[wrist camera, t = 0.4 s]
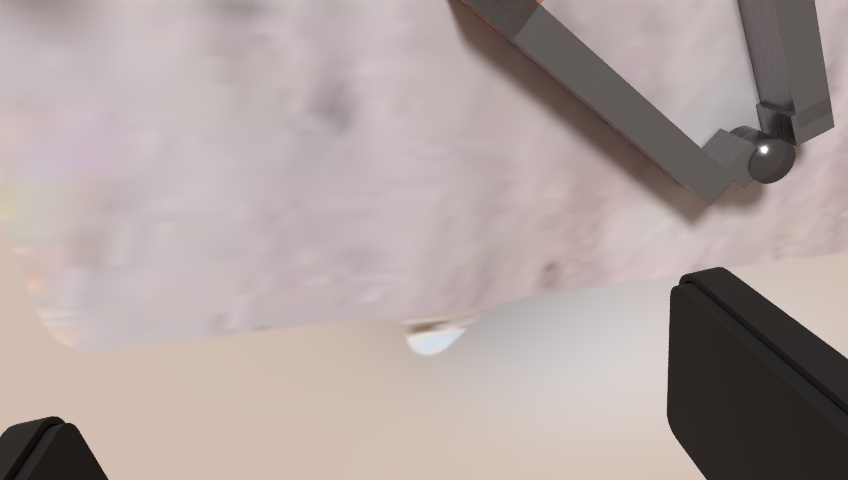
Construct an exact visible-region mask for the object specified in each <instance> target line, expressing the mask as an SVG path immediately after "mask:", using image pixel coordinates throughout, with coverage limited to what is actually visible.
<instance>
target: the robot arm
mask: <svg viewBox="0 0 848 480" xmlns="http://www.w3.org/2000/svg"><path fill="white" fill-rule="evenodd" d="M669 324H670V325H669V358H668V360H669V361H668V392H667V418H668V422H669V425H670V428H671V430H672V432H673V434H674V435H675V437H676V439H677V440H678V441H679V443H680V444H681V445H682V447H683V448H684V450H685V451H686V452H687V454H688V455H689V456H690V458H691V459H692V460H693V462H694V463H695V464H696V466H697V467H698V469H699V470H700V471H701V473H702V474H703V475H704V477H705V478H706V479H707V480H848V359H847V358H846V357H844V356H843V355H842V354H840V353H839V352H838V351H836V350H835V349H834V348H832V347H831V346H830V345H828V344H827V343H825V342H824V341H823V340H821V339H820V338H819V337H817V336H816V335H815V334H813V333H812V332H810V331H809V330H808V329H807V328H805V327H804V326H802V325H801V324H800V323H798V322H797V321H796V320H794V319H793V318H792V317H790V316H789V315H788V314H786V313H785V312H784V311H782V310H781V309H780V308H778V307H777V306H776V305H774V304H773V303H771V302H770V301H769V300H767V299H766V298H765V297H763V296H762V295H761V294H759V293H758V292H757V291H755V290H754V289H753V288H751V287H750V286H749V285H747V284H746V283H744V282H743V281H742V280H740V279H739V278H738V277H736V276H735V275H734V274H732V273H731V272H730V271H728V270H727V269H725V268H723V267H716V268H711V269H707V270H702V271H698V272H693V273H689V274H685V275H683V276H682V277H681V279H680V281H679V285H678V286H675V287H673V288H672V290H671V295H670V323H669ZM0 480H108V478H107V476H106V475H105V473H104V472H103V470H102V468H101V467H100V465H99V463H98V462H97V460H96V458H95V457H94V455H93V453H92V452H91V450H90V448H89V447H88V445H87V443H86V442H85V440H84V438H83V437H82V435H81V433H80V432H79V430H78V429H77V427H76V426H75V425H73V424H71V423H65V422H64V421H63V420H62V419H61V418H59V417H53V416H52V417H47V418H42V419H38V420H34V421H29V422H25V423H20V424H16V425H13V426H11V427H9V428H8V429H7V430H6V431H5V432H4V433H3V434H2V435H1V437H0Z"/></svg>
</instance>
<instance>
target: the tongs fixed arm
mask: <svg viewBox="0 0 848 480" xmlns="http://www.w3.org/2000/svg"><path fill="white" fill-rule="evenodd" d="M738 2H739V7H740V11H741V16H742V20H743V25H744V29H745V34H746V38H747V42H748V47H749V51H750V56H751V60H752V65H753V69H754V74H755V78H756V83H757V87H758V92H759V96H760V101H761V103H759V104H757V105H756V106H757V110H758V114H759V119H760V123H761V128H762V132H764V133H766V134H769V135H771V136H774V137H776V138H778V139H781V140H783V141H786V142H788V143H790V144H792V145H795V146H798V145H800V144H802V143H804V142H806V141H808V140H810V139H812V138H814V137H816V136H818V135H820V134H822V133H824V132H826V131H828V130H830V129H832V128H833V127H834V121H833V114H832V108H831V102H830V95H829V89H828V83H827V77H826V70H825V64H824V58H823V51H822V45H821V39H820V32H819V26H818V20H817V14H816V7H815V1H814V0H738Z"/></svg>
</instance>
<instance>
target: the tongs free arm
mask: <svg viewBox="0 0 848 480" xmlns="http://www.w3.org/2000/svg"><path fill="white" fill-rule="evenodd" d="M461 1H462V2H463V3H464V4H465V5H467V6H468V7H469V8H470V9H471V10H473V11H474V12H475V13H476V14H477V15H479V16H480V17H481V18H482V19H483V20H485V21H486V22H487V23H488V24H489V25H490V26H492V27H493V28H494V29H495V30H496V31H498V32H499V33H500V34H501V35H502V36H504V37H505V38H506V39H507V40H508V41H510V42H511V43H512V44H513V45H514V46H516V47H517V48H518V49H519V50H520V51H521V52H523V53H524V54H525V55H526V56H527V57H529V58H530V59H531V60H532V61H533V62H535V63H536V64H537V65H538V66H539V67H541V68H542V69H543V70H544V71H545V72H547V73H548V74H549V75H550V76H551V77H552V78H554V79H555V80H556V81H557V82H558V83H560V84H561V85H562V86H563V87H564V88H566V89H567V90H568V91H569V92H570V93H572V94H573V95H574V96H575V97H576V98H577V99H579V100H580V101H581V102H582V103H583V104H585V105H586V106H587V107H588V108H589V109H591V110H592V111H593V112H594V113H595V114H597V115H598V116H599V117H600V118H601V119H603V120H604V121H605V122H606V123H607V124H608V125H610V126H611V127H612V128H613V129H614V130H616V131H617V132H618V133H619V134H620V135H622V136H623V137H624V138H625V139H626V140H628V141H629V142H630V143H631V144H632V145H634V146H635V147H636V148H637V149H638V150H639V151H641V152H642V153H643V154H644V155H645V156H647V157H648V158H649V159H650V160H651V161H653V162H654V163H655V164H656V165H657V166H659V167H660V168H661V169H662V170H663V171H664V172H666V173H667V174H668V175H669V176H670V177H672V178H673V179H674V180H675V181H676V182H678V183H679V184H680V185H681V186H682V187H684V188H685V189H687V190H688V191H690V192H691V193H693V194H694V195H696V196H697V197H699V198H700V199H702V200H703V201H705V202H706V203H708V204H709V205H711V204H712V203H713V202H714V200H715V199H716V198H717V197H718V196H719V195H720V194H721V193H722V192H723V191H724V190H725V189H726V188H727V187H728V186H729V185H730V184H731V183H732V182H733V181H734V182H735V183H737V184H739V185H741V186H743V187H744V188H746V187H747V186H748V185H749V184H750V183H751V182H752V181H753V180H754V179H755V180H757V181H758V182H760V183H764V184H769V183H774V182H776V181H778V180H780V179H782V178H783V177H784V176H785V175H786V174H787V173H788V172H789V171H790V170H791V168H792V166H793V164H794V161H795V150H794V148H793V146H792V145H791V144H790V143H788V142H786V141H783V140H781V139H778V138H776V137H774V136H771V135H769V134H766V133H764V132H761V131H759V130H757V129H754V128H752V127H748V126H742V127H738V128H736V129H734V130H732V131H731V132H730V133H729V132H727V131H724V130H722V129H719V131H718V132H717V133H716V134H715V135H714V136H713V137H712V138H711V139H710V140H709V141H708V142H707V143H706V144H705V146H704V147H703V148H702V149H701V148H700V147H699V146H698V145H697V144H695V143H694V142H693V141H692V140H691V139H690V138H689V137H688V136H687V135H685V134H684V133H683V132H682V131H681V130H680V129H679V128H678V127H676V126H675V125H674V124H673V123H672V122H671V121H670V120H669V119H668V118H666V117H665V116H664V115H663V114H662V113H661V112H660V111H659V110H658V109H656V108H655V107H654V106H653V105H652V104H651V103H650V102H649V101H647V100H646V99H645V98H644V97H643V96H642V95H641V94H640V93H639V92H637V91H636V90H635V89H634V88H633V87H632V86H631V85H630V84H628V83H627V82H626V81H625V80H624V79H623V78H622V77H621V76H620V75H618V74H617V73H616V72H615V71H614V70H613V69H612V68H611V67H609V66H608V65H607V64H606V63H605V62H604V61H603V60H602V59H601V58H599V57H598V56H597V55H596V54H595V53H594V52H593V51H592V50H590V49H589V48H588V47H587V46H586V45H585V44H584V43H583V42H582V41H580V40H579V39H578V38H577V37H576V36H575V35H574V34H573V33H572V32H570V31H569V30H568V29H567V28H566V27H565V26H564V25H563V24H561V23H560V22H559V21H558V20H557V19H556V18H555V17H554V16H553V15H551V14H550V13H549V12H548V11H547V10H546V9H545V8H544V7H542V6H541V5H540V4H541V3H542V1H543V0H461Z"/></svg>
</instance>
